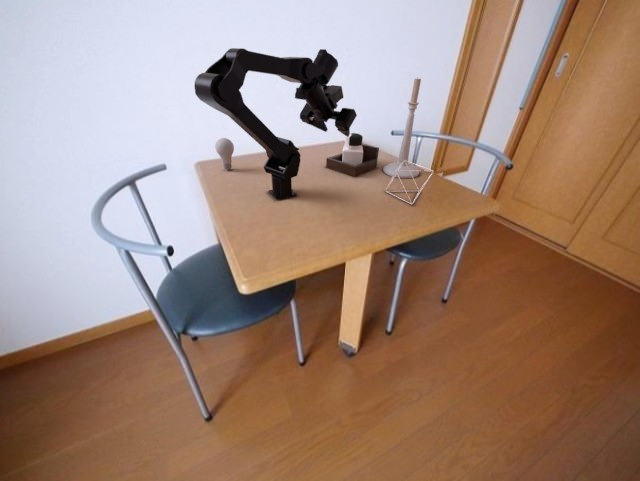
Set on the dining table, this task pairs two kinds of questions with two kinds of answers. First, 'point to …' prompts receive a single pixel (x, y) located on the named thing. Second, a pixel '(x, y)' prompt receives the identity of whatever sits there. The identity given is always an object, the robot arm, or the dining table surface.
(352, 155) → the medicine bottle
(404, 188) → the geometric polyhedron
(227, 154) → the lightbulb
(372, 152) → the wooden holder
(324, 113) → the robot arm
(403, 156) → the candlestick
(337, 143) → the dining table surface
